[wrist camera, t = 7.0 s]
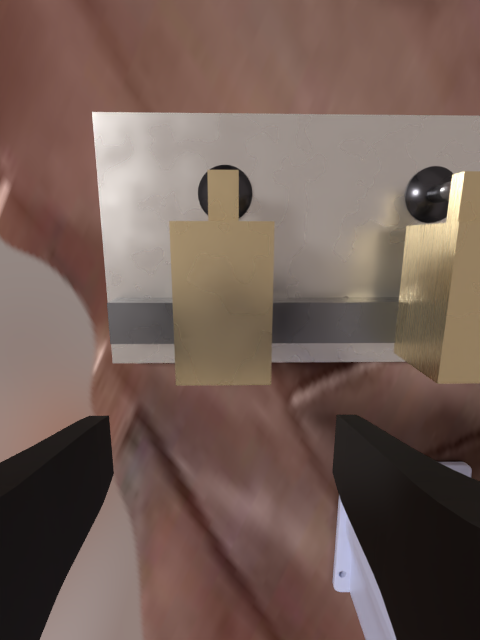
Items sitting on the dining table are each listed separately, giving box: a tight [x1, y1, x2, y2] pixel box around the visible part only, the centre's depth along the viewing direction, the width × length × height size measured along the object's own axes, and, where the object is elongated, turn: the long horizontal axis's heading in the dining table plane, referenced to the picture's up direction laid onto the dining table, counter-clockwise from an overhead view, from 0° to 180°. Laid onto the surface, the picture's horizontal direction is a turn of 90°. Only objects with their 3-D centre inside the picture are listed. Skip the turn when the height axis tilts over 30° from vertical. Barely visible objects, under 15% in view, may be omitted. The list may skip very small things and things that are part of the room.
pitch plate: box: [92, 112, 480, 384], centre depth 16 cm, size 12×20×7 cm, turn 90°
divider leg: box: [169, 170, 275, 385], centre depth 15 cm, size 8×4×5 cm, turn 0°
